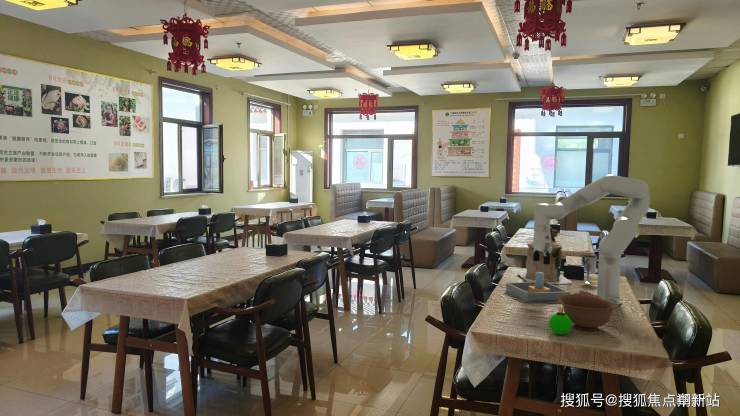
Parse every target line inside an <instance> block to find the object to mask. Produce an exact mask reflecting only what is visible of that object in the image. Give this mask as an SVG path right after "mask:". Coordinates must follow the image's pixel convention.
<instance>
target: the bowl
mask: <svg viewBox="0 0 740 416" xmlns="http://www.w3.org/2000/svg"><path fill="white" fill-rule="evenodd" d="M558 303H560V304H561V305H562V306H563V313H565V314H566V315H567V316H568V317H569V318H570V319H571V322H572V324H573V327H574V328H576V329H577V330H580V331H583V332H584V331H585V332H596V331H598V330H599V328H600V327H602V326H604V325H606V324H607V323H608V322H609V320H610V318H611V316H612V312H613V310H614V309H617V308H618V307H619V304H616V303H614V302H611V301H608V300H605V299H602V298H599V297H595V296H591V295H585V294H575V293H570V294H567V295H562V296H560V297H558Z"/></svg>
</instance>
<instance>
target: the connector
mask: <svg viewBox="0 0 740 416" xmlns="http://www.w3.org/2000/svg"><path fill="white" fill-rule="evenodd" d="M535 288H536V289H544V273H543V272H536V278H535Z"/></svg>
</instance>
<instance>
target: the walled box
mask: <svg viewBox="0 0 740 416" xmlns="http://www.w3.org/2000/svg"><path fill="white" fill-rule="evenodd" d="M529 286H535V282H527V281H525V282H523V281H522V282H521V281H519V282H506V283H505V292H506V293H507V294H509V295H512V296H513V297H515V298H517V299H518V300H519V299H520V300H521V301H523V302H525V303H527V304H531V303H557V302H558V297H560V296H562V295H567V294H571V291H569V290H566V289H564V288H562V287H559V286H557V285H556V284H550V283H548V282H544V287H547V288H549V289H550V292H537V293H532V292H530V291H528V288H529ZM558 303H559V302H558Z"/></svg>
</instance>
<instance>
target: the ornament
mask: <svg viewBox="0 0 740 416" xmlns="http://www.w3.org/2000/svg"><path fill="white" fill-rule="evenodd" d="M548 325H549V328H550V330H551V331H552V332H553V334H557V335H559V336H563V335H567V334H568V333H569V332H570V331H571V330H572V325H573V323H572V322H571V319H570V318H569V317H568V316H567V315H566V314H565V312H564V307H563V308H562V307H559V309H558V311H557V312H556V313H553V314H552V315H551V316H550V317H549V320H548Z"/></svg>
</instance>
